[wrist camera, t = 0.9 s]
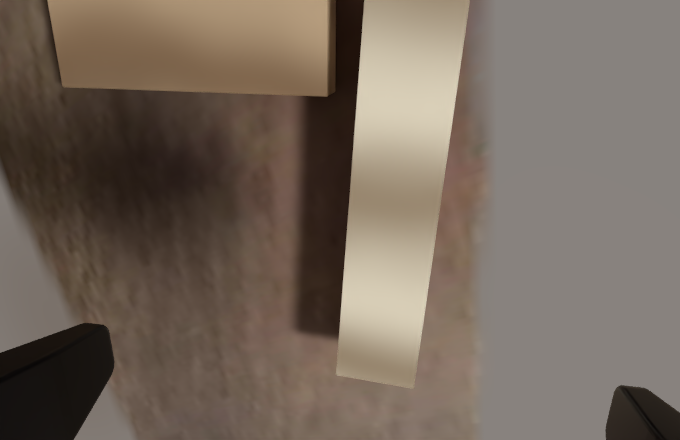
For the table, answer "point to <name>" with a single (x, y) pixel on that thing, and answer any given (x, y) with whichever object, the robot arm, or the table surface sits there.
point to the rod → (397, 181)
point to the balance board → (197, 45)
